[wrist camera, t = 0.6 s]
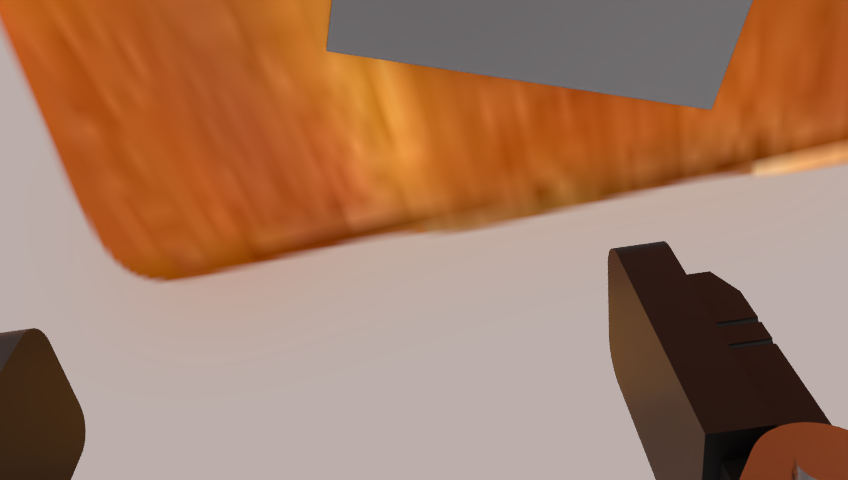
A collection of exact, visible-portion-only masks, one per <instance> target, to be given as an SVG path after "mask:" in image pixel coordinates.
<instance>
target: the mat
mask: <svg viewBox="0 0 848 480" xmlns="http://www.w3.org/2000/svg"><path fill="white" fill-rule="evenodd" d="M752 1H753V0H332V8H331V16H330V25H329V34H328V42H327V51H329V52H336V53H342V54H349V55H356V56H362V57H369V58H375V59H382V60H388V61H395V62H401V63H408V64H414V65H421V66H428V67H434V68H441V69H447V70H454V71H460V72H467V73H473V74H480V75H486V76H493V77H500V78H506V79H513V80H519V81H526V82H532V83H539V84H545V85H552V86H558V87H565V88H572V89H578V90H585V91H591V92H598V93H604V94H611V95H617V96H624V97H630V98H637V99H644V100H650V101H657V102H663V103H670V104H676V105H683V106H689V107H696V108H702V109H709V110H711V109H712V106H713V104H714V101H715V98H716V96H717V93H718V90H719V88H720V85H721V83H722V80H723V77H724V75H725V72H726V69H727V67H728V64H729V62H730V59H731V56H732V54H733V51H734V48H735V46H736V43H737V40H738V38H739V35H740V33H741V30H742V27H743V25H744V22H745V19H746V17H747V14H748V12H749V9H750V6H751V4H752Z"/></svg>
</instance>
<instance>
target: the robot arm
mask: <svg viewBox="0 0 848 480" xmlns="http://www.w3.org/2000/svg"><path fill="white" fill-rule="evenodd" d="M608 298H609V342H610V351H611V357H612V362H613V367H614V371H615V374H616V378H617V381H618V384H619V386H620V389H621V391H622V394H623V396H624V399H625V402H626V404H627V407H628V409H629V412H630V414H631V417H632V419H633V422H634V425H635V427H636V430H637V432H638V435H639V438H640V440H641V442H642V445H643V448H644V450H645V453H646V455H647V458H648V461H649V463H650V466H651V468H652V471H653V473H654V476H655V479H656V480H848V430H846V429H843V428H840V427H836V426H832V425H831V423H830V422H829V420H828V419H827V418H826V416H825V414H824V413H823V411H822V410H821V409H820V407H819V406H818V404H817V403H816V401H815V400H814V398H813V397H812V395H811V394H810V392H809V391H808V390H807V388H806V387H805V385H804V384H803V382H802V381H801V379H800V378H799V376H798V375H797V374H796V372H795V371H794V369H793V368H792V366H791V365H790V363H789V362H788V360H787V359H786V357H785V356H784V355H783V353H782V352H781V350H780V349H779V347H778V346H777V345H776V344H773V341H772V337H771V336H770V334H769V333H768V331H767V330H766V328H765V327H764V325H763V324H762V322H758V317H757V315H756V314H755V312H754V311H753V309H752V308H751V306H750V305H749V303H748V302H747V301H746V299H745V298H744V296H743V295H742V293H741V292H740V291H739V290H737V289H736V288H734V287H733V286H731V285H730V284H728V283H727V282H725V281H724V280H722V279H720V278H719V277H717V276H716V275H714V274H713V273H711V272H703V273H695V274H689V275H686V273H685V271H684V270H683V268H682V266H681V265H680V263H679V261H678V260H677V258H676V256H675V255H674V253H673V251H672V250H671V248H670V247H669V245H668V244H667V243H666V242H664V241H662V242H656V243H649V244H642V245H634V246H627V247H620V248H613V249H611V250H610V251H609V256H608ZM84 443H85V420H84V415H83V412H82V409H81V406H80V404H79V402H78V400H77V398H76V396H75V394H74V392H73V390H72V388H71V386H70V383H69V381H68V379H67V377H66V375H65V373H64V371H63V369H62V367H61V365H60V363H59V361H58V358H57V356H56V354H55V352H54V350H53V348H52V346H51V344H50V342H49V340H48V338H47V337H46V336H45V334H44V333H43V332H42V331H40V330H38V329H35V328H33V329H25V330H18V331H11V332H5V333H0V480H71V478H72V476H73V473H74V471H75V468H76V466H77V463H78V461H79V459H80V456H81V454H82V451H83V448H84Z"/></svg>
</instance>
